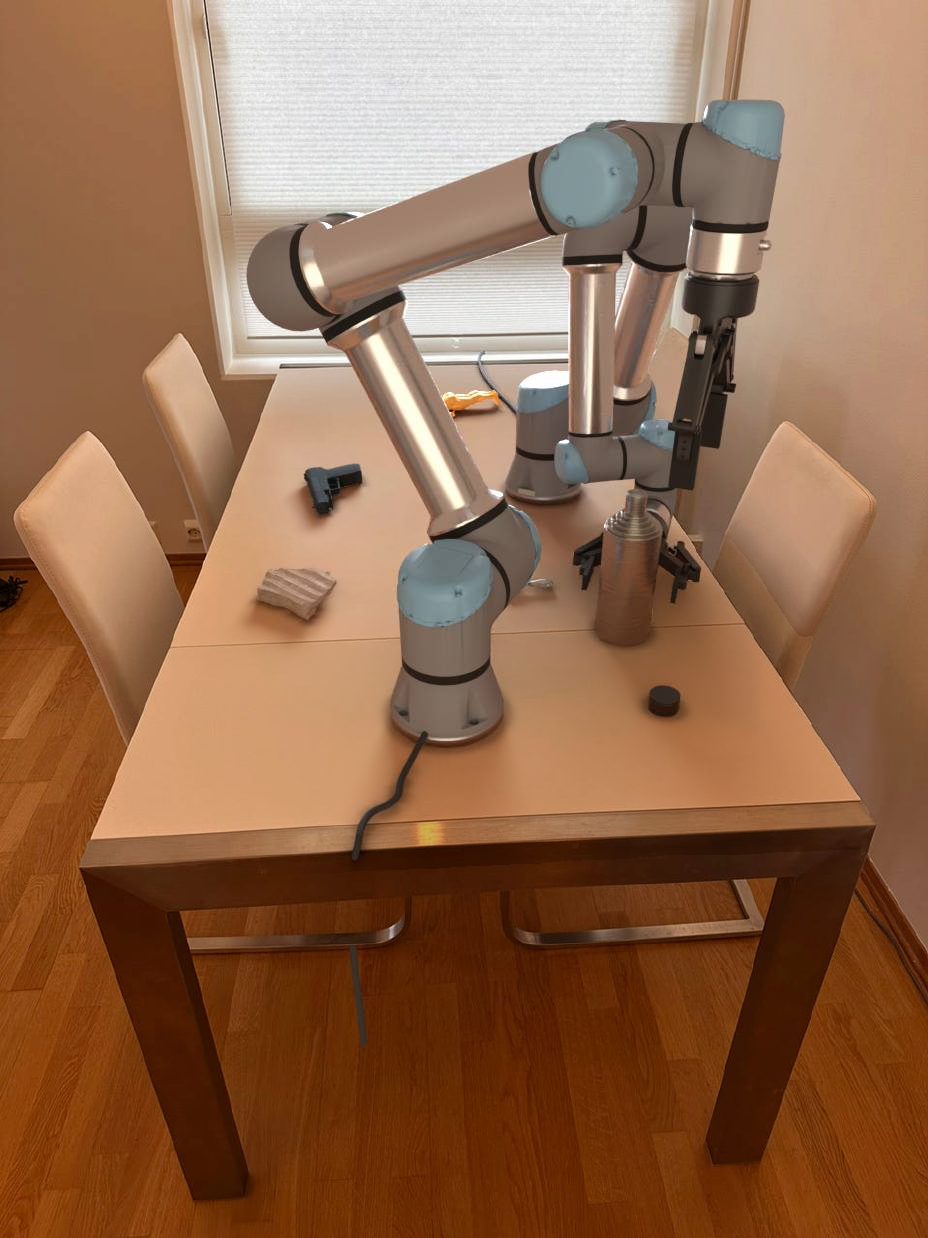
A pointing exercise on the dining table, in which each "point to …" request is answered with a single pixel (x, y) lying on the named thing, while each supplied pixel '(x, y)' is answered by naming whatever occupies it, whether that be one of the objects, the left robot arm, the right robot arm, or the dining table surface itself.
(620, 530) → the bottle
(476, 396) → the human figure
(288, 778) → the dining table surface
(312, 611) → the stone
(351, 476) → the handgun
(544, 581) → the putty knife
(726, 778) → the dining table surface
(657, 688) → the cap
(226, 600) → the dining table surface
